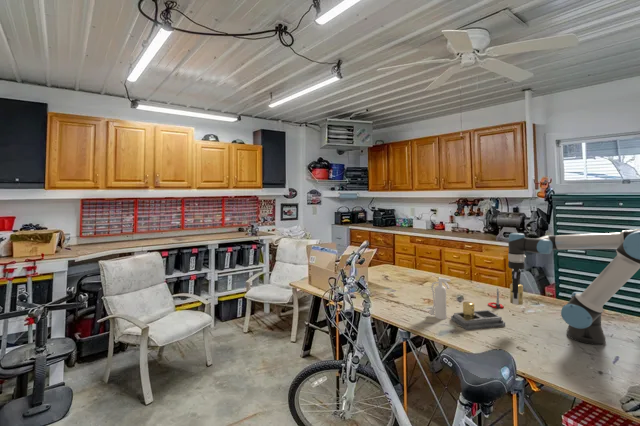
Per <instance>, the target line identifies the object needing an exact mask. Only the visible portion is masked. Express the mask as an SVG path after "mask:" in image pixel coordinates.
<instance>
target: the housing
mask: <svg viewBox="0 0 640 426" xmlns="http://www.w3.org/2000/svg"><path fill="white" fill-rule="evenodd" d="M450 320H452V321H453V322H454V323H456V324H457V325H458V326H460V327H462V328H463V329H464V330H465V331H469V330H471V331H472V330H479V329H481V328H482V329H489V328H491V329H492V328H498V327H506V322H505V321H504V320H503V318H502V316H500V315H498V314H497V313H495V312H493V311H491V310H490V309H482V310H475V303H474V302H472V301H463V302H462V312H454V313H453V314H452V315H451V316H450Z"/></svg>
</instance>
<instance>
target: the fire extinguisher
mask: <svg viewBox="0 0 640 426" xmlns="http://www.w3.org/2000/svg"><path fill="white" fill-rule="evenodd" d="M449 282H451V279H450V278H447V277H442V276H441V277H440V276H439V277H438V279H437V281H434V282H432V283H431V287H430V288H431V292H432V300H433V301H432V302H433V303H432V304H433V305H432V307H431V309H429V312H428V314H429V315H430V316H435V319H437V320H446V319H447V289H448V290H449V289H450V285H449V284H448V283H449ZM435 284H438V285H436V286H435V287H434V285H435ZM443 284H444V285H445V286H446V287H445V286H444V285H443Z"/></svg>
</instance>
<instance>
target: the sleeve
mask: <svg viewBox="0 0 640 426" xmlns="http://www.w3.org/2000/svg"><path fill="white" fill-rule="evenodd" d="M512 290H513V283H510V284H509V302H510V304H512V305H514V304H513V292H511V291H512ZM518 293H519V304H518V305H519V306H520V305H521V306H522V305H524V285H523V284H521V283H520V284H518ZM515 305H517V304H515Z"/></svg>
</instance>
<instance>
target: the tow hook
mask: <svg viewBox="0 0 640 426" xmlns="http://www.w3.org/2000/svg"><path fill="white" fill-rule="evenodd" d="M487 305H488V306H489V307H492V309H504V305H503V304H501V303H500V291H499V288H496V302H491V301H490V302H488V303H487Z"/></svg>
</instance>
